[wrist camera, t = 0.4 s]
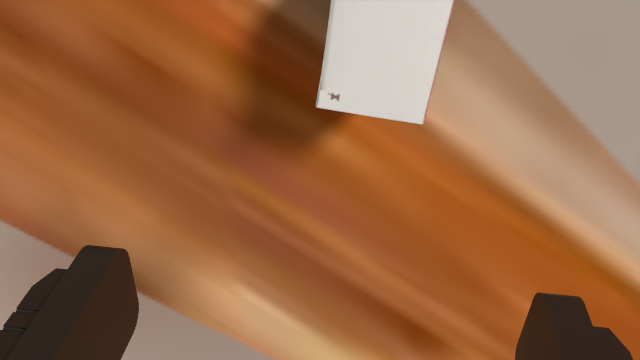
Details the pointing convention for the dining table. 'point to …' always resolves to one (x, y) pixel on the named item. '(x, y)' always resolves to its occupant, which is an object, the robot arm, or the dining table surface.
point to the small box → (383, 57)
